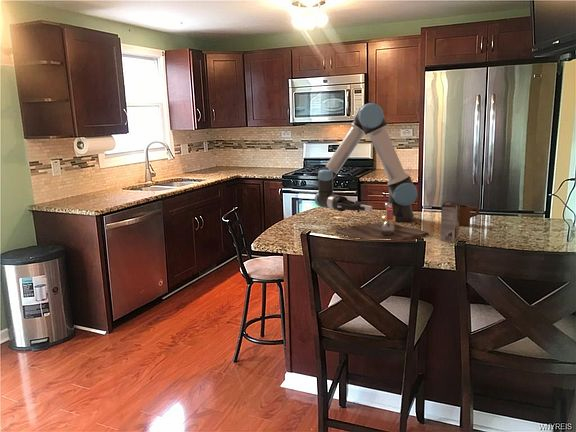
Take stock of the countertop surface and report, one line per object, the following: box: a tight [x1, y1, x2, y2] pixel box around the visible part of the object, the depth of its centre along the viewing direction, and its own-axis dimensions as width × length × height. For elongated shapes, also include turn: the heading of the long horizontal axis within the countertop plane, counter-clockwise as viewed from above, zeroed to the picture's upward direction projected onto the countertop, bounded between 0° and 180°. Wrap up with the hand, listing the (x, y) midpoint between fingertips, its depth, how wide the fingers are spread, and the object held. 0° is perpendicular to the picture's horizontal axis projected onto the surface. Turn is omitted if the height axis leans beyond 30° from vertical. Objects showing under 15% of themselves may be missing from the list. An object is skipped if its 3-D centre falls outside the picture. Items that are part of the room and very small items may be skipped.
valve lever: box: [384, 202, 393, 220], centre depth 210 cm, size 22×3×4 cm, turn 170°
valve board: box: [335, 221, 430, 241], centre depth 219 cm, size 31×30×2 cm
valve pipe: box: [381, 213, 396, 236], centre depth 220 cm, size 23×6×10 cm, turn 167°
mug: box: [459, 204, 480, 227], centre depth 232 cm, size 12×8×9 cm, turn 82°
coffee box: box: [439, 201, 461, 243], centre depth 206 cm, size 9×6×16 cm
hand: (371, 209), depth 212 cm, fingers closed
